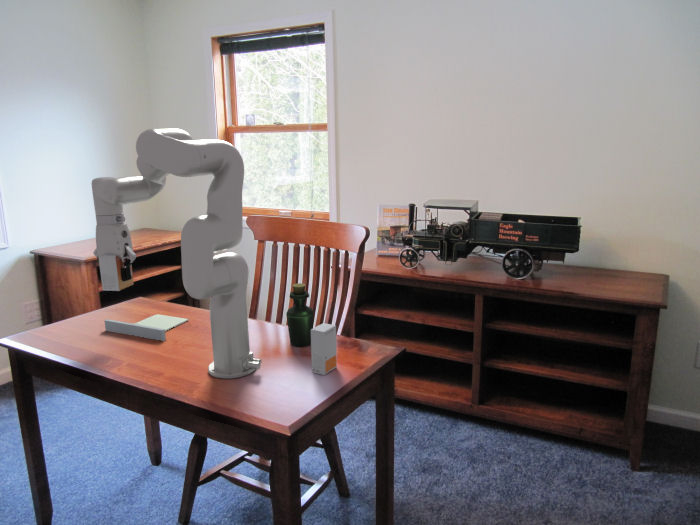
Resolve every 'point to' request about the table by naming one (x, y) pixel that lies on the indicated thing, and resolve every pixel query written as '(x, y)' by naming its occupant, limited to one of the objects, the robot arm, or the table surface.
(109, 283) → the small box
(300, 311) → the potion bottle
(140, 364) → the table surface
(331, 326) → the skincare box
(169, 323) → the mat
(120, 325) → the low wall
